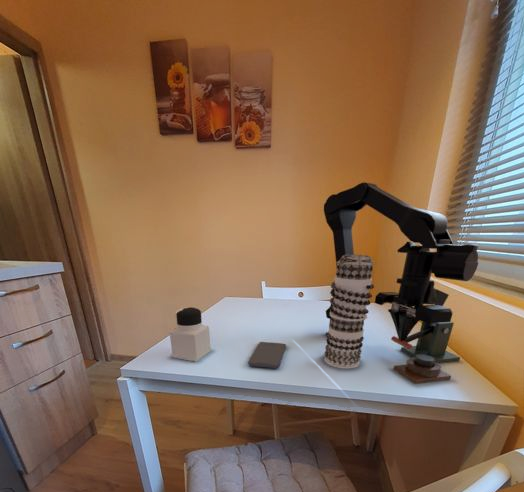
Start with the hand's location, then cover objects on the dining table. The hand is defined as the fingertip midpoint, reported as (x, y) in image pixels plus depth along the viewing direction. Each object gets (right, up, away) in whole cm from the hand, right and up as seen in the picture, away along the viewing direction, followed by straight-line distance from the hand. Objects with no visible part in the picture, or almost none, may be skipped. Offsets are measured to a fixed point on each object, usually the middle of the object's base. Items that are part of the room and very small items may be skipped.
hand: (401, 339), depth 68 cm
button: (+1, -6, -7) cm, 9 cm away
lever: (+5, 0, +1) cm, 5 cm away
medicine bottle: (-52, -4, +3) cm, 53 cm away
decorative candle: (-15, -5, +1) cm, 16 cm away
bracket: (+9, -4, +4) cm, 11 cm away
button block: (+1, -8, -6) cm, 10 cm away
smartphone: (-33, -4, +3) cm, 33 cm away
